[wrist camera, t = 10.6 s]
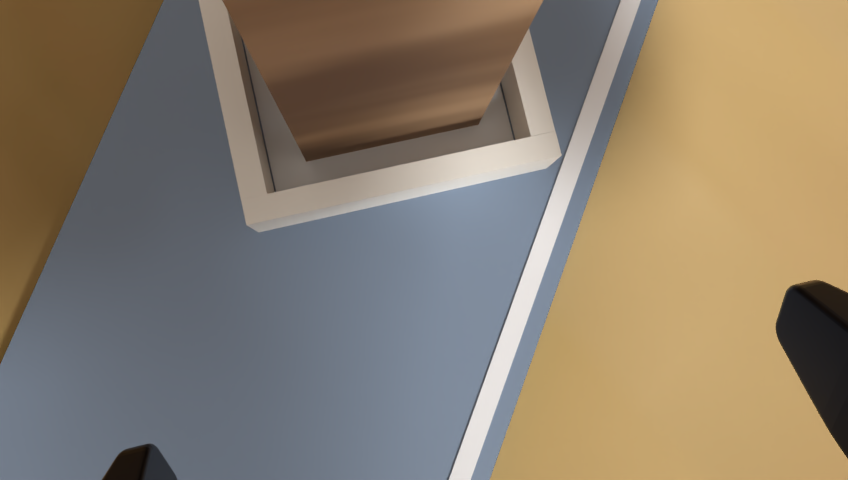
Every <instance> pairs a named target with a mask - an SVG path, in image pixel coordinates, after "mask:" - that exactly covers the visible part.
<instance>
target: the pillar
mask: <svg viewBox="0 0 848 480" xmlns="http://www.w3.org/2000/svg"><path fill="white" fill-rule="evenodd" d="M222 1H223V3H224V5H225V6H226V8H227V10H228V12H229V14H230V16H231V18H232V20H233V22H234V24H235V26H236V28H237V29H238V31H239V33H240V35H241V37H242V39H243V41H244V43H245V45H246V47H247V49H248V51H249V53H250V54H251V56H252V58H253V60H254V62H255V64H256V66H257V68H258V70H259V72H260V74H261V76H262V77H263V79H264V81H265V83H266V85H267V87H268V89H269V91H270V93H271V95H272V97H273V99H274V101H275V102H276V104H277V106H278V108H279V110H280V112H281V114H282V116H283V118H284V120H285V122H286V124H287V125H288V127H289V129H290V131H291V133H292V135H293V137H294V139H295V141H296V143H297V145H298V147H299V149H300V150H301V152H302V154H303V156H304V158H305V160H306V162H307V161H312V160H317V159H321V158H326V157H331V156H335V155H340V154H345V153H349V152H354V151H359V150H363V149H368V148H372V147H377V146H382V145H386V144H391V143H396V142H400V141H405V140H410V139H414V138H419V137H423V136H428V135H433V134H437V133H442V132H447V131H451V130H456V129H461V128H465V127H470V126H475V125H478V124H479V122H480V121H481V119H482V117H483V115H484V113H485V111H486V109H487V107H488V105H489V103H490V101H491V100H492V98H493V96H494V94H495V92H496V90H497V88H498V86H499V84H500V82H501V80H502V78H503V77H504V75H505V73H506V71H507V69H508V67H509V65H510V63H511V61H512V59H513V57H514V56H515V54H516V52H517V50H518V48H519V46H520V44H521V42H522V40H523V38H524V36H525V35H526V33H527V31H528V29H529V27H530V25H531V23H532V21H533V19H534V17H535V15H536V14H537V12H538V10H539V8H540V6H541V4H542V2H543V0H222Z"/></svg>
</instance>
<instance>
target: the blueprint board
mask: <svg viewBox="0 0 848 480" xmlns="http://www.w3.org/2000/svg"><path fill="white" fill-rule="evenodd" d="M657 2H658V0H543V2H542V4H541V6H540V8H539V10H538V12H537V14H536V15H535V17H534V19H533V21H532V23H531V25H530V27H529V29H528V31H527V33H526V35H525V36H524V38H523V40H522V42H521V44H520V46H519V48H518V50H517V52H516V54H515V56H514V57H513V59H512V61H511V63H510V65H509V67H508V69H507V71H506V73H505V75H504V77H503V78H502V80H501V82H500V84H499V86H498V88H497V90H496V92H495V94H494V96H493V98H492V100H491V101H490V103H489V105H488V107H487V109H486V111H485V113H484V115H483V117H482V119H481V121H480V122H479V124H478V125H475V126H470V127H465V128H461V129H456V130H451V131H447V132H442V133H437V134H433V135H428V136H423V137H419V138H414V139H410V140H405V141H400V142H396V143H391V144H386V145H382V146H377V147H372V148H368V149H363V150H359V151H354V152H349V153H345V154H340V155H335V156H331V157H326V158H321V159H317V160H312V161H307V162H306V160H305V158H304V156H303V154H302V152H301V150H300V149H299V147H298V145H297V143H296V141H295V139H294V137H293V135H292V133H291V131H290V129H289V127H288V125H287V124H286V122H285V120H284V118H283V116H282V114H281V112H280V110H279V108H278V106H277V104H276V102H275V101H274V99H273V97H272V95H271V93H270V91H269V89H268V87H267V85H266V83H265V81H264V79H263V77H262V76H261V74H260V72H259V70H258V68H257V66H256V64H255V62H254V60H253V58H252V56H251V54H250V53H249V51H248V49H247V47H246V45H245V43H244V41H243V39H242V37H241V35H240V33H239V31H238V29H237V28H236V26H235V24H234V22H233V20H232V18H231V16H230V14H229V12H228V10H227V8H226V6H225V5H224V3H223V1H222V0H164V1H163V3H162V5H161V7H160V10H159V12H158V14H157V16H156V19H155V21H154V23H153V25H152V28H151V30H150V32H149V34H148V36H147V39H146V41H145V43H144V45H143V48H142V50H141V52H140V54H139V56H138V59H137V61H136V63H135V65H134V68H133V70H132V72H131V74H130V77H129V79H128V81H127V83H126V85H125V88H124V90H123V92H122V94H121V97H120V99H119V101H118V103H117V106H116V108H115V110H114V112H113V114H112V117H111V119H110V121H109V123H108V126H107V128H106V130H105V132H104V134H103V137H102V139H101V141H100V143H99V146H98V148H97V150H96V152H95V155H94V157H93V159H92V161H91V163H90V166H89V168H88V170H87V172H86V175H85V177H84V179H83V181H82V184H81V186H80V188H79V190H78V192H77V195H76V197H75V199H74V201H73V204H72V206H71V208H70V210H69V212H68V215H67V217H66V219H65V221H64V224H63V226H62V228H61V230H60V233H59V235H58V237H57V239H56V241H55V244H54V246H53V248H52V250H51V253H50V255H49V257H48V259H47V262H46V264H45V266H44V268H43V270H42V273H41V275H40V277H39V279H38V282H37V284H36V286H35V288H34V290H33V293H32V295H31V297H30V299H29V302H28V304H27V306H26V308H25V311H24V313H23V315H22V317H21V319H20V322H19V324H18V326H17V328H16V331H15V333H14V335H13V337H12V339H11V342H10V344H9V346H8V348H7V351H6V353H5V355H4V357H3V360H2V362H1V364H0V480H102V478H103V477H104V475H105V474H106V472H107V471H108V469H109V467H110V466H111V464H112V463H113V461H114V459H115V458H116V457H117V455H118V454H119V453H120V452H121V451H123V450H125V449H127V448H132V447H136V446H140V445H144V444H149V443H151V444H154V445H155V446H156V447H157V448H158V449H159V450H160V452H161V453H162V455H163V456H164V458H165V459H166V461H167V462H168V464H169V466H170V467H171V469H172V470H173V472H174V473H175V475H176V477H177V480H490V477H491V474H492V471H493V468H494V466H495V463H496V460H497V457H498V454H499V451H500V448H501V446H502V443H503V440H504V437H505V434H506V431H507V429H508V426H509V423H510V420H511V417H512V414H513V412H514V409H515V406H516V403H517V400H518V397H519V394H520V392H521V389H522V386H523V383H524V380H525V377H526V375H527V372H528V369H529V366H530V363H531V360H532V357H533V355H534V352H535V349H536V346H537V343H538V340H539V338H540V335H541V332H542V329H543V326H544V323H545V321H546V318H547V315H548V312H549V309H550V306H551V303H552V301H553V298H554V295H555V292H556V289H557V286H558V284H559V281H560V278H561V275H562V272H563V269H564V266H565V264H566V261H567V258H568V255H569V252H570V249H571V247H572V244H573V241H574V238H575V235H576V232H577V230H578V227H579V224H580V221H581V218H582V215H583V212H584V210H585V207H586V204H587V201H588V198H589V195H590V193H591V190H592V187H593V184H594V181H595V178H596V176H597V173H598V170H599V167H600V164H601V161H602V158H603V156H604V153H605V150H606V147H607V144H608V141H609V139H610V136H611V133H612V130H613V127H614V124H615V121H616V119H617V116H618V113H619V110H620V107H621V104H622V102H623V99H624V96H625V93H626V90H627V87H628V85H629V82H630V79H631V76H632V73H633V70H634V67H635V65H636V62H637V59H638V56H639V53H640V50H641V48H642V45H643V42H644V39H645V36H646V33H647V30H648V28H649V25H650V22H651V19H652V16H653V13H654V11H655V8H656V5H657Z"/></svg>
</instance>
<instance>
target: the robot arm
mask: <svg viewBox="0 0 848 480" xmlns="http://www.w3.org/2000/svg"><path fill="white" fill-rule="evenodd" d="M776 333H777V337H778V340H779V342H780V344H781V345H782V347H783V349H784V351H785V353H786V355H787V356H788V358H789V360H790V362H791V364H792V365H793V367H794V369H795V371H796V373H797V375H798V376H799V378H800V380H801V382H802V384H803V385H804V387H805V389H806V391H807V393H808V394H809V396H810V398H811V400H812V402H813V404H814V405H815V407H816V409H817V411H818V413H819V414H820V416H821V418H822V420H823V421H824V423H825V425H826V426H827V428H828V430H829V432H830V433H831V435H832V436H833V438H834V439H835V441H836V442H837V444H838V445H839V447H840V448H841V450H842V451H843V452H844V454H845V455H846V457H847V458H848V293H847V292H845V291H843V290H841V289H839V288H837V287H834V286H832V285H830V284H828V283H826V282H823V281H819V280H813V281H808V282H804V283H800V284H796V285H792V286H790V287H789V288H788V289H787V291H786V293H785V296H784V299H783V302H782V306H781V309H780V312H779V315H778V318H777V321H776ZM102 480H177V477H176V475H175V473H174V472H173V470H172V469H171V467H170V466H169V464H168V462H167V461H166V459H165V458H164V456H163V455H162V453H161V452H160V450H159V449H158V448H157V447H156V446H155V445H154V444H151V443H149V444H144V445H140V446H136V447H132V448H127V449H125V450H123V451H121V452H120V453H119V454H118V455H117V457H116V458H115V459H114V461H113V463H112V464H111V466H110V467H109V469H108V471H107V472H106V474H105V475H104V477H103V478H102Z"/></svg>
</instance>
